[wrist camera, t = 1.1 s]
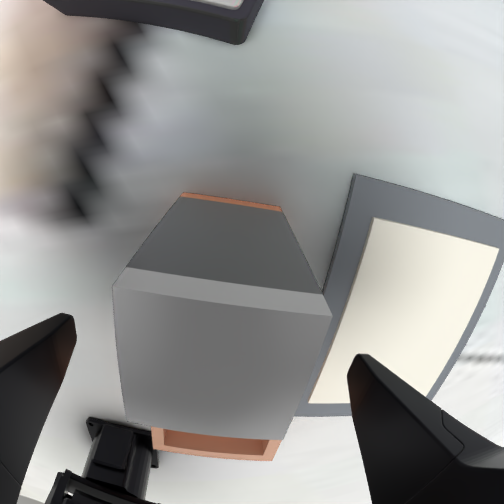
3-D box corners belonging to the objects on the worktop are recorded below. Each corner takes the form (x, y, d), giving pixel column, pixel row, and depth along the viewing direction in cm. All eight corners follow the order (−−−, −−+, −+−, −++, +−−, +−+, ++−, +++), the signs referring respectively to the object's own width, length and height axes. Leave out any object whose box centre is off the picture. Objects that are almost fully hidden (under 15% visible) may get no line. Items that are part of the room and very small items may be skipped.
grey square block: (262, 291, 18) (282, 440, 9) (174, 279, 18) (126, 421, 8) (280, 206, 16) (332, 315, 7) (183, 192, 16) (112, 285, 7)
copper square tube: (267, 420, 23) (271, 460, 19) (161, 408, 22) (153, 448, 18) (294, 341, 20) (305, 385, 16) (161, 324, 19) (146, 368, 15)
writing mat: (423, 406, 24) (426, 411, 23) (281, 412, 22) (282, 418, 22) (512, 223, 17) (518, 226, 16) (353, 173, 16) (358, 175, 15)
